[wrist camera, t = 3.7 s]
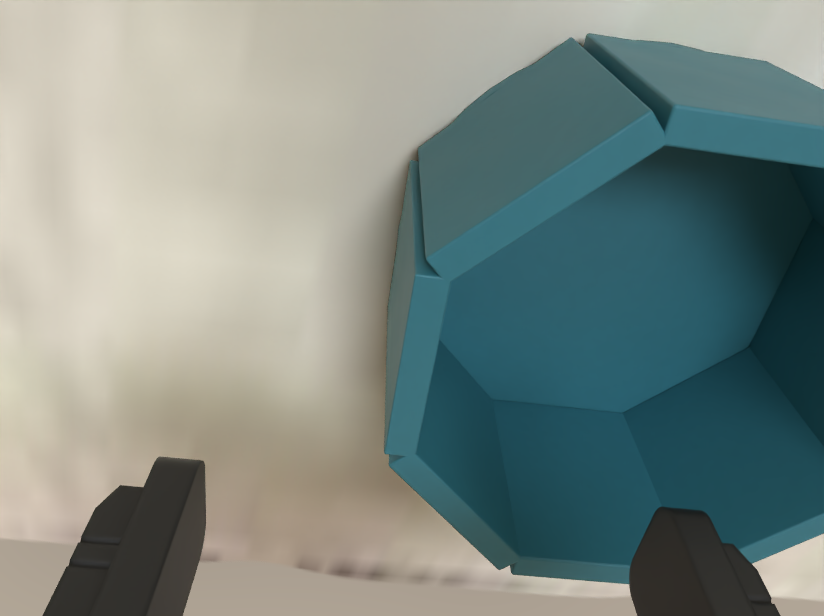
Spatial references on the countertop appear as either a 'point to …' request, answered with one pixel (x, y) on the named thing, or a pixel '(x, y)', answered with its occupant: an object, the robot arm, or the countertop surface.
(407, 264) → the teal octagonal bowl
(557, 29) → the countertop surface
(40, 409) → the countertop surface
